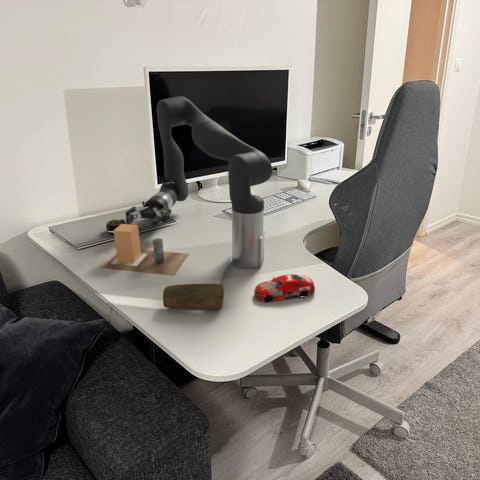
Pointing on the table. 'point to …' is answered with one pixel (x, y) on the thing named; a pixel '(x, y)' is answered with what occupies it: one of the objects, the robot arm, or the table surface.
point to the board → (151, 261)
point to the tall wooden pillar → (127, 243)
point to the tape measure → (114, 224)
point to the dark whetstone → (193, 296)
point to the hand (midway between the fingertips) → (140, 223)
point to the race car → (284, 288)
